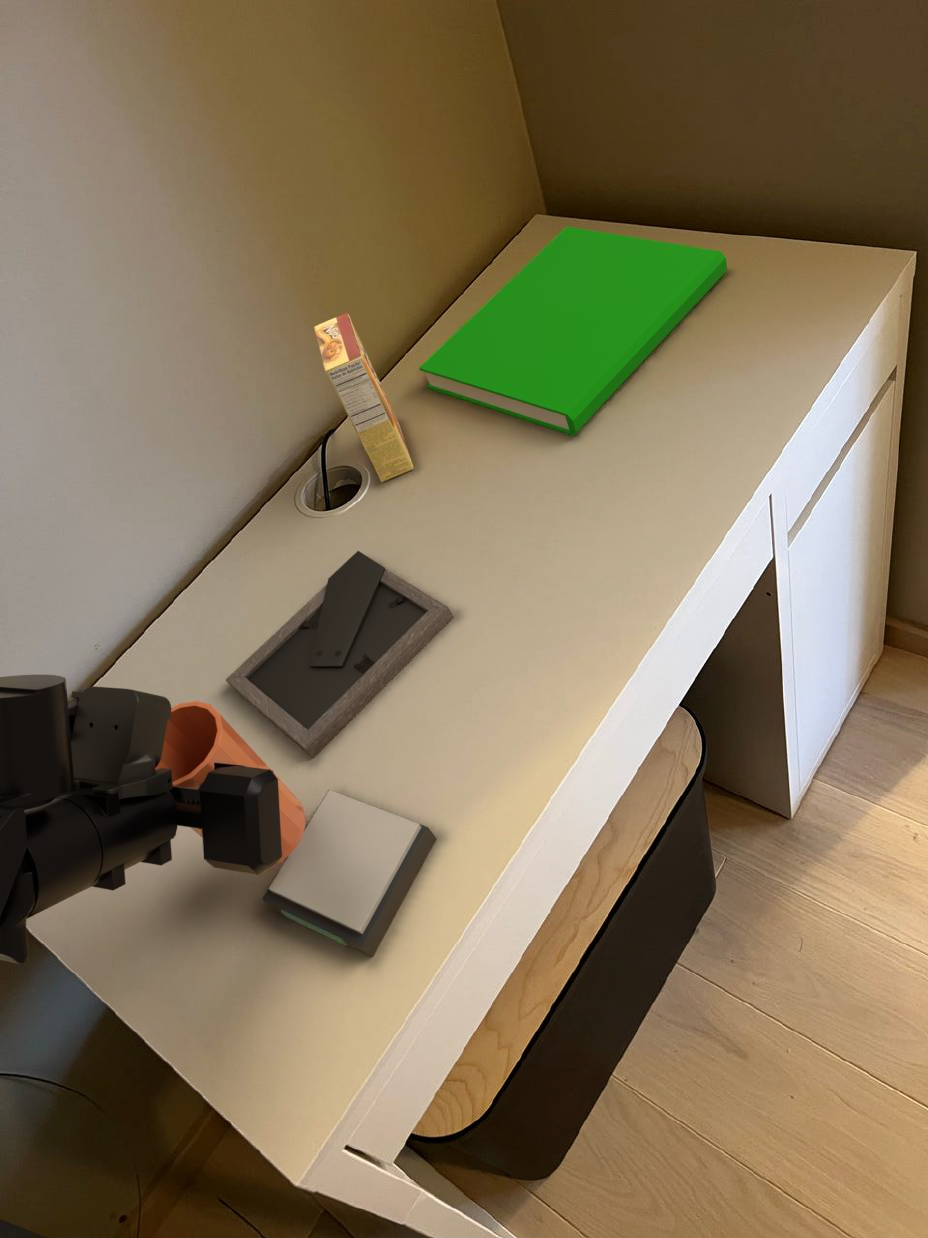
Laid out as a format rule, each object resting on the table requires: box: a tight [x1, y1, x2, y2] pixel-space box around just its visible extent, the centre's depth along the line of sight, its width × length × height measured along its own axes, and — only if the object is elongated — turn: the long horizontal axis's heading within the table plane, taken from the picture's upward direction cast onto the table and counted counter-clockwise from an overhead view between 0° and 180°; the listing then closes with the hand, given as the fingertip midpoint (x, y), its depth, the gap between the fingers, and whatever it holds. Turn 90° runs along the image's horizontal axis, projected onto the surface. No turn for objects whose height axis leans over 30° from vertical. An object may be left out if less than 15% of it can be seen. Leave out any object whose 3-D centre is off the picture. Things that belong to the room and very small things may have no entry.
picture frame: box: [225, 550, 454, 759], centre depth 90 cm, size 13×2×18 cm
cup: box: [155, 700, 306, 870], centre depth 70 cm, size 7×7×13 cm
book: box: [418, 225, 728, 437], centre depth 109 cm, size 22×28×3 cm
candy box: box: [313, 312, 414, 483], centre depth 101 cm, size 9×4×15 cm, turn 15°
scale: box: [261, 789, 437, 958], centre depth 75 cm, size 10×10×3 cm
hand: (231, 772), depth 71 cm, fingers closed on cup, 7 cm apart
